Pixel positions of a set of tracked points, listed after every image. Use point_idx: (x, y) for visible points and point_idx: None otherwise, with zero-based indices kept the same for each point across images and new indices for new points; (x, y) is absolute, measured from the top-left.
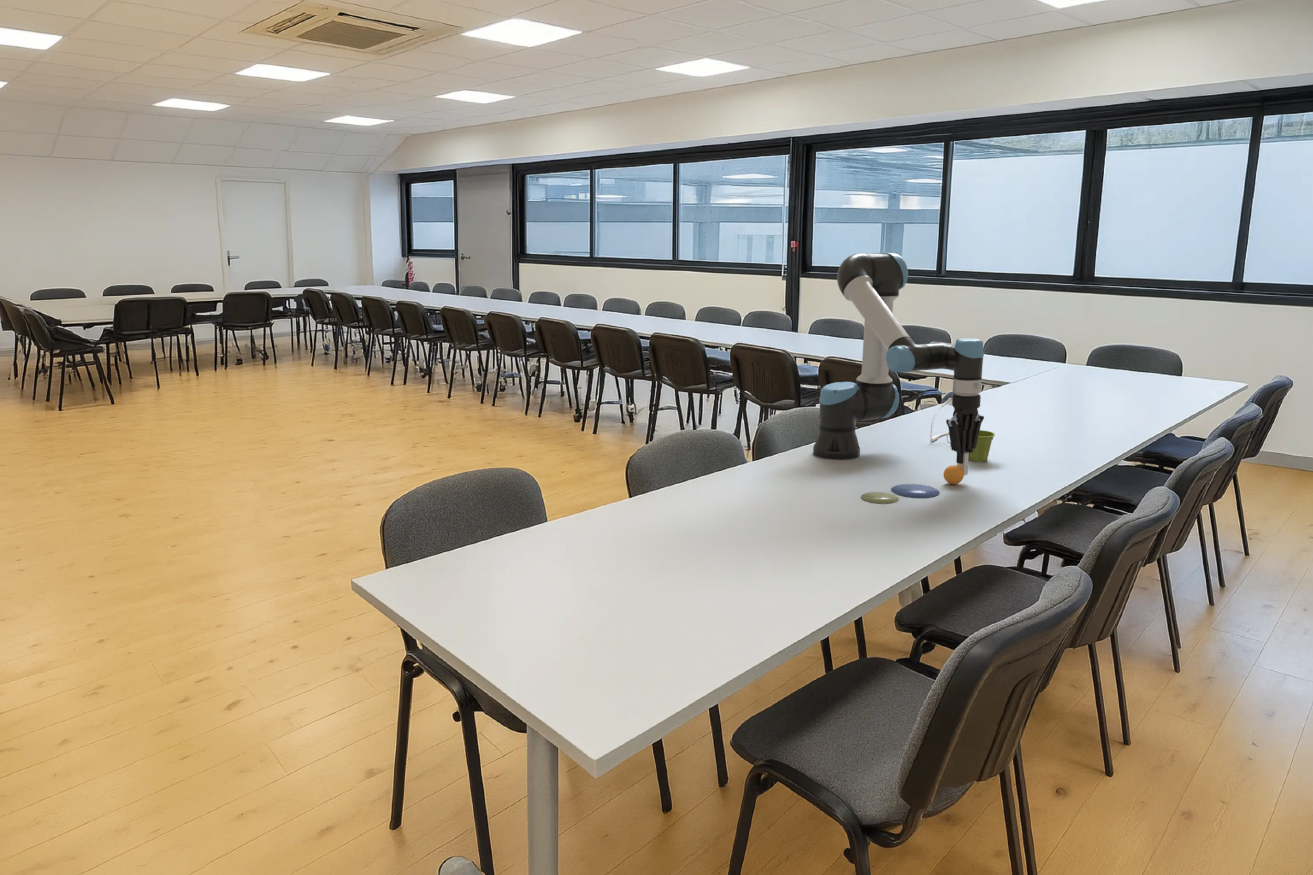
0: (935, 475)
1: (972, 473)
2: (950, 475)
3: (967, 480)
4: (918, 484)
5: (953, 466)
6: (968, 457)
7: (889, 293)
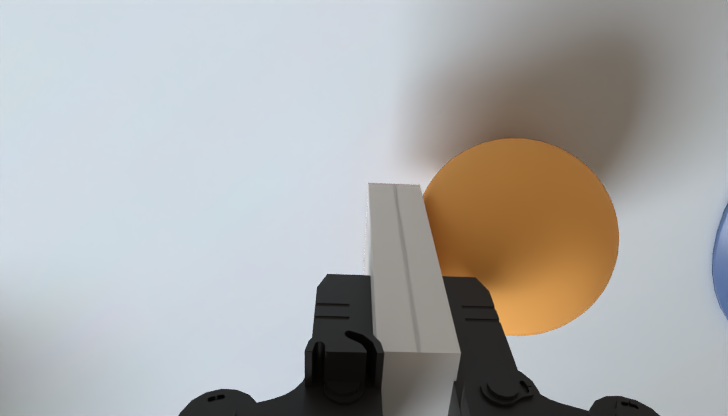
0: None
1: (96, 301)
2: (614, 211)
3: (293, 197)
4: (726, 309)
5: (568, 281)
6: (375, 298)
7: None
